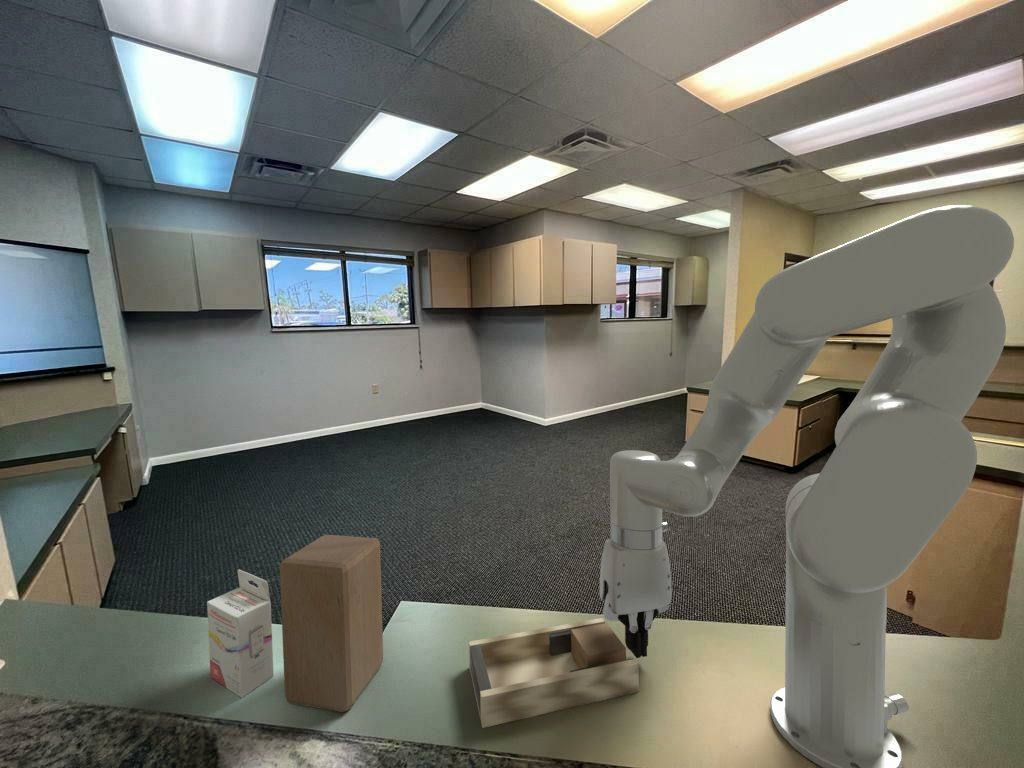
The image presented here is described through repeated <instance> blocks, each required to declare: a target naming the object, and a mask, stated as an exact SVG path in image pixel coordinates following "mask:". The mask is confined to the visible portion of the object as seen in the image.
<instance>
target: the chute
mask: <svg viewBox="0 0 1024 768" xmlns="http://www.w3.org/2000/svg"><path fill="white" fill-rule="evenodd" d="M605 623H606V621H605V619H604V618H603V617H599V618H594V619H588V620H587V619H586V620H583V621H576V622H572V623H566V624H560V625H554V626H548V627H543V628H537V629H531V630H527V631H522V632H521V631H520V632H516V633H509V634H504V635H498V636H493V637H487V638H481V639H476V640H471V641H468V655H469V657H468V658H469V659H468V661H469V671H470V676H471V681H472V685H473V690H474V691H473V692H474V696H475V700H476V705H477V710H478V715H479V718H480V725H481V728H482V729H484V728H488V727H493V726H496V725H497V726H498V725H501V724H506V723H510V722H515V721H519V720H523V719H524V720H525V719H528V718H532V717H536V716H540V715H544V714H548V713H553V712H558V711H562V710H566V709H570V708H574V707H579V706H583V705H587V704H588V705H589V704H591V703H596V702H601V701H605V700H609V699H613V698H614V699H615V698H618V697H622V696H627V695H631V694H635V693H639V690H640V689H639V685H640V684H639V682H640V681H639V677H640V676H639V662H638V661H637V660H636V658H632V659H629V660H627V659H626V661H622V662H618V663H613V664H610V663H605V664H600V665H595V666H590V667H586V668H581V669H579V667H578V666H577V664H576V662H575V660H574V659H573V657H572V655H571V630H572V629H577V628H583V627H588V626H594V625H599V624H605Z"/></svg>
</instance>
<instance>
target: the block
mask: <svg viewBox="0 0 1024 768" xmlns="http://www.w3.org/2000/svg"><path fill="white" fill-rule="evenodd" d="M381 566H382V565H381V542H380V540H379V538H376V537H362V536H350V535H338V534H337V535H335V534H324V535H322V536H320V537H319V538H317V539H315V540H313V541H312V542H310V543H308V544H307V545H305V546H303V547H302V548H300V549H299V550H297V551H296V552H294V553H293V554H291V555H288V557H286V558H284V559H283V560H282V561H281V563H280V566H279V579H280V580H279V581H280V584H279V585H280V601H281V602H280V603H281V607H280V608H281V630H282V631H281V632H282V654H283V656H282V657H283V683H284V684H283V685H284V698H285V700H286V702H288V703H289V704H294V705H298V706H306V707H311V708H318V709H323V710H328V711H336V712H341V713H344V712H348V710H350V709H351V708H352V707H353V705H354V704H355V703H356V701H357V700H358V699H359V697H360V696H361V694H362V693H363V692H364V690H365V689H366V687H367V686H368V685H369V684H370V682H371V681H372V679H373V678H374V676H375V675H376V674H377V672H378V671H379V670H380V668H381V667H382V664H383V662H384V639H383V638H384V636H383V635H384V634H383V611H382V610H383V608H382V607H383V606H382V604H383V603H382V579H381V578H382V573H381V572H382V571H381V568H382V567H381Z"/></svg>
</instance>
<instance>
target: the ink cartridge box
mask: <svg viewBox="0 0 1024 768" xmlns="http://www.w3.org/2000/svg"><path fill="white" fill-rule="evenodd" d="M237 576H238V577H237V579H238V583H239V587H237V588H235V589H232V590H229V591H228V592H226V593H223V594H221V595H218V596H216V597H214V598H213V599H210V600H208V601H206V606H207V607H206V608H207V624H208V625H207V626H208V627H207V630H208V650H209V651H208V652H209V670H210V671H209V672H210V678H211V679H212V680H215V681H216V682H218V683H219V684H220V685H222V686H224V688H226V689H228V690H229V691H230V692H232V693H234V694H235V695H237V696H238V697H239V698H243V697H245V696H247V695H248V694H250V693H251V692H252V691H254V690H256V689H257V688H258V687H260V686H261V685H263V684H264V683H266V682H267V681H268V680H270V679H271V678H272V677H274V674H275V673H274V652H273V628H272V627H273V626H272V623H273V622H272V604H271V603H272V602H271V598H270V591H269V584H268V581H267V580H265V579H263V578H261V577H259V576H256V575H254V574H251V573H249V572H247V571H243V570H242V569H241V568H240V569H237ZM251 581H252V582H253V583H254V584H256V585H257V587H256V586H255V585H253V584H251V583H249V582H251Z"/></svg>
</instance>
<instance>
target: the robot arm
mask: <svg viewBox="0 0 1024 768" xmlns="http://www.w3.org/2000/svg"><path fill="white" fill-rule="evenodd" d="M1014 243H1015V238H1014V234H1013V231H1012V228H1011V226H1010V225H1009V224H1008V222H1007V221H1006V220H1005V219H1004V218H1003V217H1002V216H1000V215H999V214H998V213H996V212H993V211H992V210H990V209H988V208H984V207H980V206H976V205H968V204H967V205H965V204H958V205H957V204H956V205H955V204H954V205H944V206H941V207H935V208H932V209H927V210H925V211H922V212H919V213H916V214H914V215H911V216H909V217H906V218H904V219H901V220H899V221H896V222H893V223H892V224H889V225H887V226H885V227H882V228H880V229H878V230H877V229H876V230H875V231H873V232H871V233H867V234H865V235H863V236H861V237H859V238H856V239H854V240H851V241H849V242H846V243H844V244H842V245H839V246H836V247H835V248H832V249H829V250H827V251H824V252H822V253H819V254H816V255H815V256H813V257H810V258H808V259H804V260H802V261H800V262H797V263H795V264H793V265H790V266H788V267H787V268H785V269H783V270H781V271H779V272H777V273H776V274H774V275H773V276H771V277H770V278H769V279H768V280H767V281H766V282H765V283H764V284H763V285H762V287H761V288H760V290H759V291H758V293H757V296H756V298H755V304H754V312H753V313H752V316H751V317H750V319H749V320H748V322H747V324H746V325H745V327H744V328H743V331H742V332H741V334H740V336H739V338H738V339H737V341H736V342H735V344H734V346H733V347H732V349H731V351H730V352H729V354H728V355H727V357H726V359H725V360H724V362H723V364H722V365H721V367H720V369H719V370H718V372H717V373H716V375H715V377H714V378H713V381H712V382H711V385H710V387H709V391H708V398H707V402H706V406H705V408H704V410H703V413H702V414H701V416H700V419H699V420H698V422H697V424H696V426H695V428H693V431H692V432H691V434H690V436H689V437H688V439H687V441H686V442H685V444H684V445H683V447H682V448H681V450H680V451H679V453H678V454H677V455H676V456H675V457H673V458H672V459H668V460H661V458H660V456H658V455H657V454H655V453H652V452H650V451H646V450H638V449H637V450H635V449H634V450H633V449H631V450H620V451H618V452H615V453H613V454H612V456H611V458H610V461H609V484H610V486H609V491H610V493H609V496H610V497H609V499H610V500H609V503H610V506H609V507H610V514H609V515H610V519H609V520H610V523H609V524H610V538H609V539H605V541H604V545H603V550H602V556H601V560H600V561H601V563H600V575H599V598H600V600H601V601H604V604H603V609H602V615H603V617H604V618H605V620H607V621H609V622H610V621H612V622H620V623H622V625H624V641H625V647H626V649H628V650H629V651H631V653H632V654H633V655H634V657H635V659H641V657H643V658H646V657H648V647H649V631H650V630H651V629H652V627H653V621H654V620H656V617H657V616H658V615H659V614H661V613H664V612H666V611H668V610H669V609H670V603H671V601H672V573H671V572H672V571H671V566H670V565H671V564H670V559H669V553H668V549H667V544H666V542H665V541H664V540H663V538H664V537H663V535H664V534H663V533H664V532H668V530H669V525H668V523H667V521H663V511H666V512H669V513H672V514H675V515H677V516H682V517H697V516H702V515H703V514H705V513H707V512H708V511H709V510H710V509H711V508H712V506H713V505H714V504H715V502H716V499H717V497H718V495H719V493H720V491H721V490H722V488H723V486H724V484H725V483H726V481H727V480H728V478H729V476H730V475H731V473H732V471H733V470H734V469H735V468H736V467H737V464H738V463H739V461H740V460H741V459H742V457H743V455H744V454H745V452H746V450H748V448H749V446H750V445H751V444H752V443H753V441H754V440H755V438H756V437H757V436H758V435H759V433H760V432H762V430H764V429H765V428H766V427H767V426H768V425H769V424H771V422H773V420H774V419H775V418H776V416H777V415H778V414H779V413H780V411H781V410H782V409H783V407H784V406H785V404H786V402H787V401H788V400H789V398H790V396H791V395H792V393H793V392H794V390H795V389H796V387H797V386H798V384H799V383H800V381H801V380H802V378H803V377H804V376H805V374H806V373H807V371H808V369H809V368H810V367H811V366H812V364H813V362H814V361H815V359H816V358H817V356H818V355H819V353H820V352H821V350H822V349H823V348H824V346H825V344H826V343H827V341H828V340H829V339H830V337H834V336H838V335H840V334H845V333H847V332H851V331H854V330H858V329H862V328H865V327H868V326H871V325H875V324H877V323H881V322H883V321H887V320H890V319H891V321H892V330H891V334H890V336H889V340H888V342H887V344H886V346H885V348H884V349H883V351H882V352H881V355H880V356H879V358H878V360H877V362H876V364H875V366H874V367H873V370H872V371H871V373H870V374H869V375H868V377H867V379H866V380H865V382H864V383H863V385H862V386H861V388H860V389H859V391H858V393H857V394H856V396H855V397H854V399H853V400H852V402H851V403H850V405H849V406H848V407H847V409H846V410H845V411H844V413H843V414H842V415H841V416H840V418H839V420H837V424H836V427H835V428H834V441H835V445H836V446H835V448H834V450H833V451H832V453H831V455H830V456H829V458H828V460H827V461H826V463H825V465H824V466H823V468H822V470H821V471H820V472H819V473H814V474H811V475H808V476H805V477H804V478H802V479H801V480H799V481H798V482H797V483H795V484H794V485H793V487H792V489H791V490H790V491H789V493H788V495H787V498H786V501H785V510H784V512H785V533H786V534H785V546H786V548H785V550H786V551H785V555H786V556H785V557H786V558H785V559H786V560H785V562H786V564H785V630H784V631H785V632H784V633H785V635H784V636H785V637H784V638H785V641H784V643H785V644H784V645H785V649H784V650H785V653H784V655H785V657H784V686H783V687H781V688H779V689H777V690H776V691H775V692H774V693H773V695H772V696H771V698H770V699H771V700H770V715H771V719H772V721H773V723H774V726H775V727H776V729H777V731H779V733H780V734H781V736H782V737H783V738H784V739H785V741H787V742H788V743H789V745H790V746H792V747H793V748H794V749H795V750H796V751H797V752H799V754H801V755H802V756H804V757H805V758H807V759H808V760H810V761H811V762H812V763H814V764H816V765H818V766H820V767H821V768H903V751H902V749H901V746H900V744H899V741H897V739H896V737H895V736H894V735H893V733H892V732H891V731H890V729H889V727H888V722H889V721H891V720H892V718H893V716H898V715H901V714H905V713H907V712H909V708H910V707H909V704H908V702H907V700H906V699H905V697H904V696H902V695H900V694H899V693H897V692H894V693H893V692H892V693H889V694H886V695H885V692H886V690H885V689H886V688H885V687H886V640H887V639H886V638H887V637H886V635H887V634H886V631H887V628H886V627H887V617H888V616H887V611H888V610H887V609H888V607H887V606H888V605H887V601H888V599H887V597H888V596H887V595H888V594H887V586H889V585H891V584H892V583H894V582H895V581H896V580H897V579H899V578H900V577H901V576H902V575H903V574H904V573H905V572H906V571H907V570H908V569H909V567H910V566H912V564H913V563H914V561H915V560H916V559H917V557H918V556H919V555H920V553H921V552H922V551H923V550H924V548H925V547H926V546H927V544H928V543H929V542H930V540H932V538H933V537H934V535H935V534H936V532H937V531H938V530H939V529H940V528H941V526H942V524H943V523H944V522H945V520H946V519H947V518H948V516H950V514H951V513H952V511H953V510H954V509H955V507H956V506H957V504H958V503H960V500H961V499H962V498H963V496H964V495H965V493H967V490H968V488H969V487H970V485H971V482H972V481H973V478H974V475H975V472H976V467H977V463H978V451H977V446H976V443H975V440H974V437H973V436H972V434H971V432H970V431H969V429H968V427H966V425H964V424H963V422H962V420H963V419H964V418H965V416H966V414H967V413H968V411H969V410H970V409H971V407H972V406H973V404H974V402H975V401H976V399H977V398H978V396H979V394H980V393H981V391H982V390H983V387H984V386H985V385H986V383H987V381H988V380H989V378H990V377H991V375H992V372H993V371H994V369H995V368H996V366H997V364H998V362H999V360H1000V358H1001V355H1002V353H1003V350H1004V346H1005V342H1006V336H1007V327H1006V319H1005V314H1004V311H1003V309H1002V305H1001V302H1000V299H999V297H998V295H997V293H996V291H995V289H994V288H993V286H992V285H991V284H990V283H991V282H992V281H993V280H995V279H996V278H997V277H998V276H999V275H1000V274H1001V272H1002V271H1003V270H1004V269H1005V268H1006V267H1007V264H1008V263H1009V262H1010V260H1011V257H1012V254H1013V251H1014V247H1015V245H1014Z"/></svg>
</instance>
